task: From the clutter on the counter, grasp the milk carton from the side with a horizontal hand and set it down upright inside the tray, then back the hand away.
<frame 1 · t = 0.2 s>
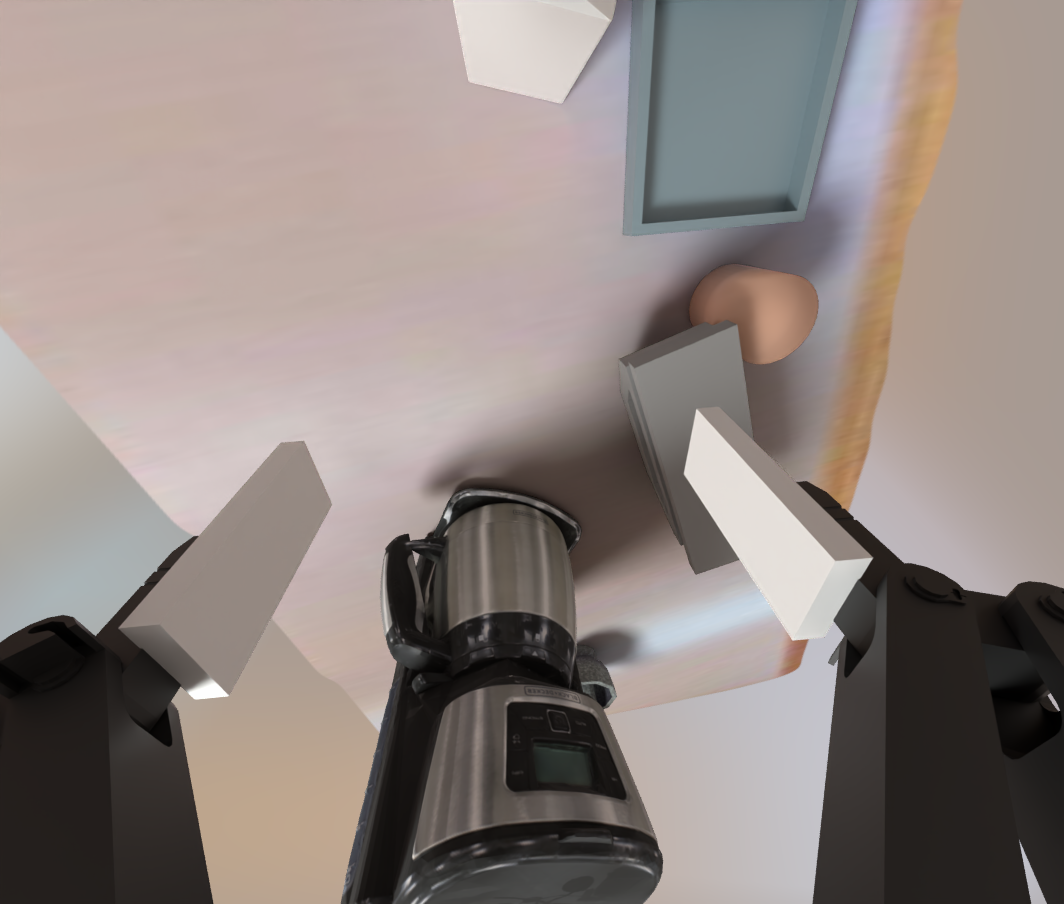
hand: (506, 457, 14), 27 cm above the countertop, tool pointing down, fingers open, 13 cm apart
mortar and pestle: (578, 657, 67), on the countertop
tray: (718, 122, 31), on the countertop
sharpening stone: (666, 419, 45), on the countertop
coffee maker: (467, 567, 54), on the countertop
peach round cylinder: (724, 303, 39), on the countertop
milk carton: (522, 29, 28), on the countertop
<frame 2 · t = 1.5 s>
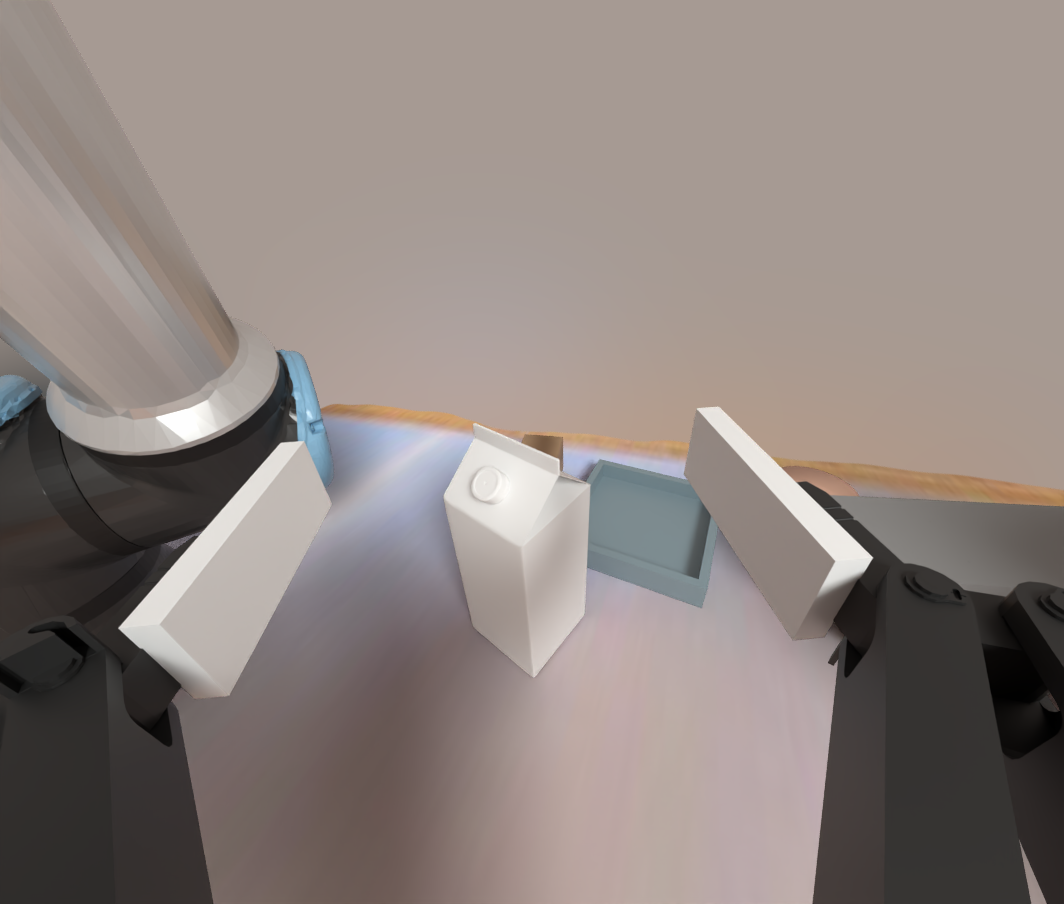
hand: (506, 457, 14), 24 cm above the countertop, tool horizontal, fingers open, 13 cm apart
walnut block: (541, 478, 52), on the countertop
tray: (640, 529, 43), on the countertop
sharpening stone: (957, 638, 32), on the countertop
peach round cylinder: (785, 550, 40), on the countertop
milk carton: (529, 622, 35), on the countertop
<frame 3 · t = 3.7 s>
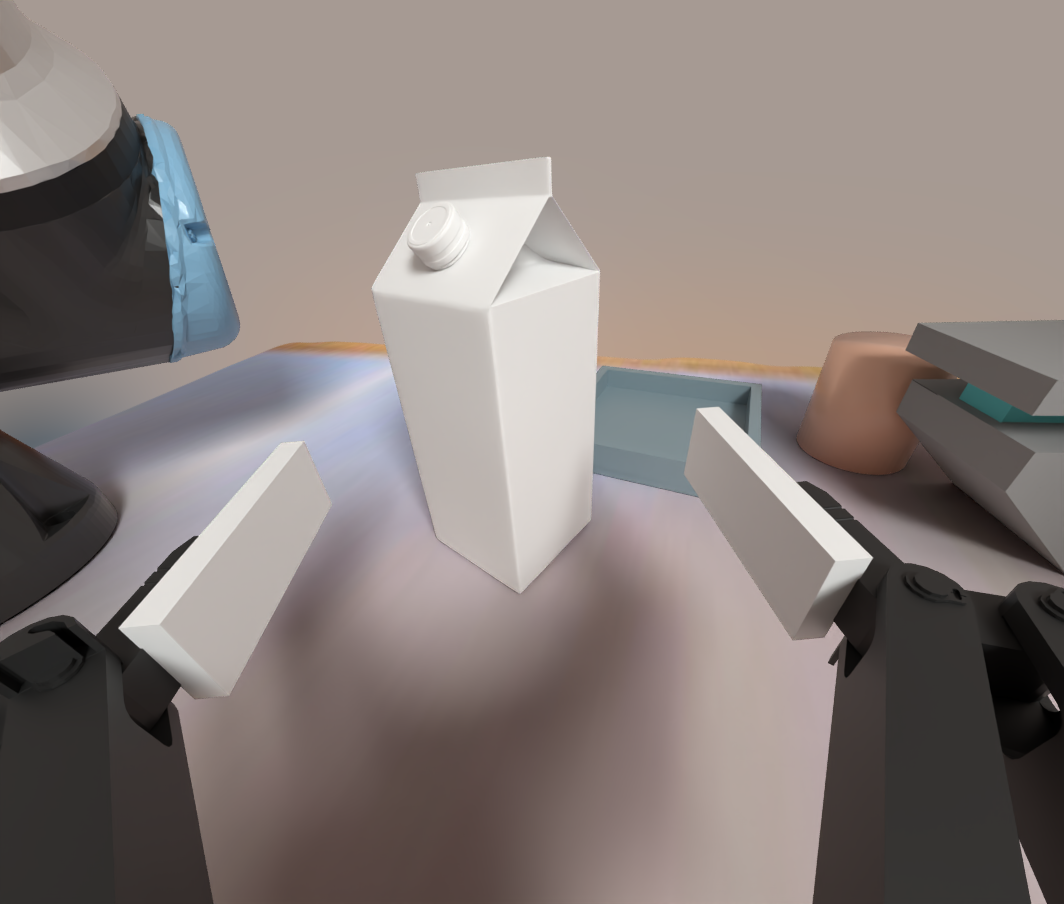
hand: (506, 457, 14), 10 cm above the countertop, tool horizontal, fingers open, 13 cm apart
tray: (657, 434, 34), on the countertop
peach round cylinder: (848, 447, 31), on the countertop
milk carton: (515, 533, 25), on the countertop
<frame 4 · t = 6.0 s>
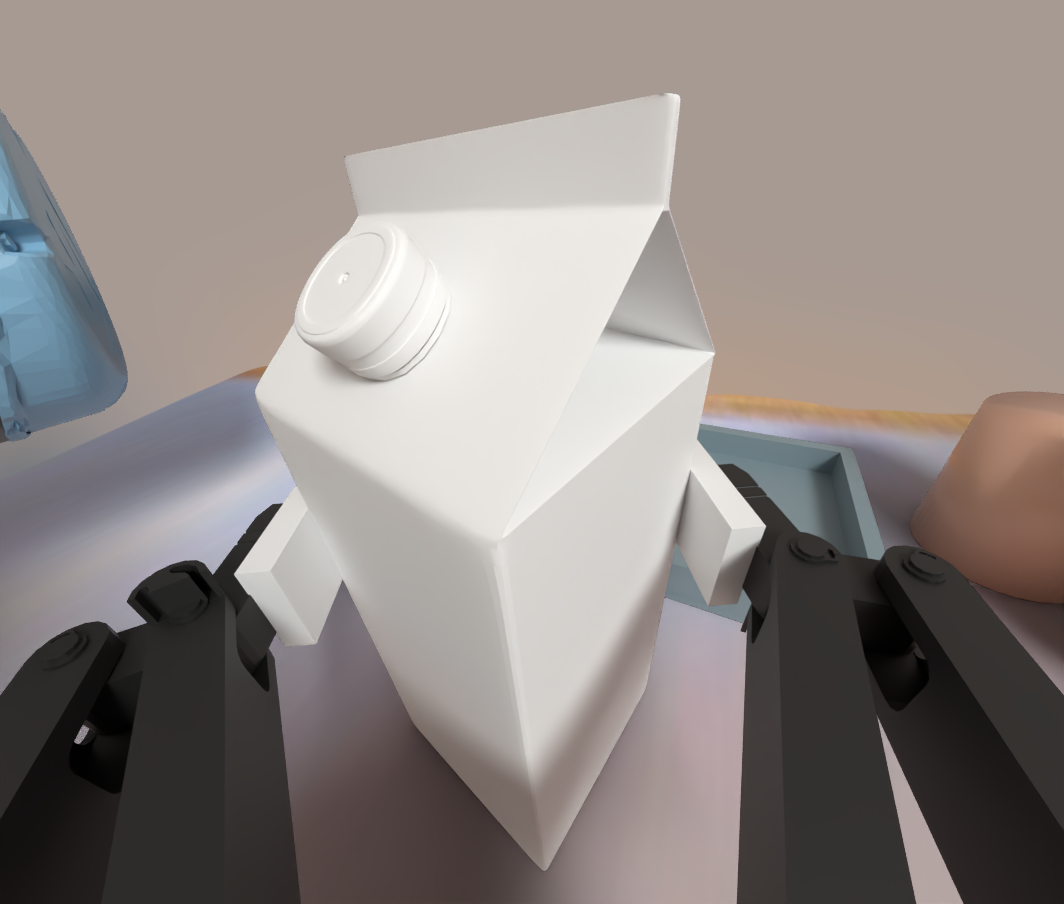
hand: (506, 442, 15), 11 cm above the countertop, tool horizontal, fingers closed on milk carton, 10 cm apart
tray: (717, 517, 25), on the countertop
peach round cylinder: (991, 549, 22), on the countertop
milk carton: (530, 708, 17), on the countertop, touching gripper
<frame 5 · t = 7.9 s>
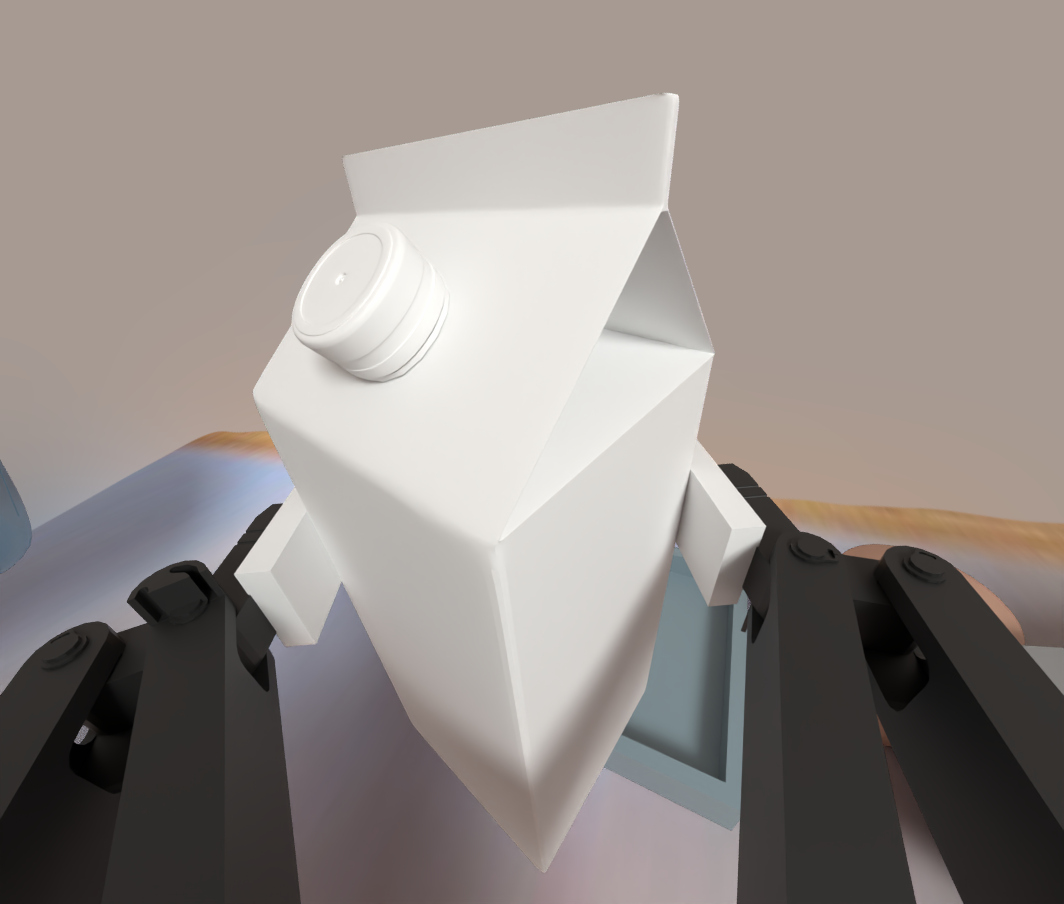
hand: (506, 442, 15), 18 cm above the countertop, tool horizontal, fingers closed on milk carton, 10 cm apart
tray: (618, 639, 27), on the countertop
peach round cylinder: (858, 679, 24), on the countertop
milk carton: (530, 709, 17), point 7 cm above the countertop, touching gripper
when the fingers open (12 cm above the countertop, at t = 10.2 s): milk carton stays where it is, resting on tray.
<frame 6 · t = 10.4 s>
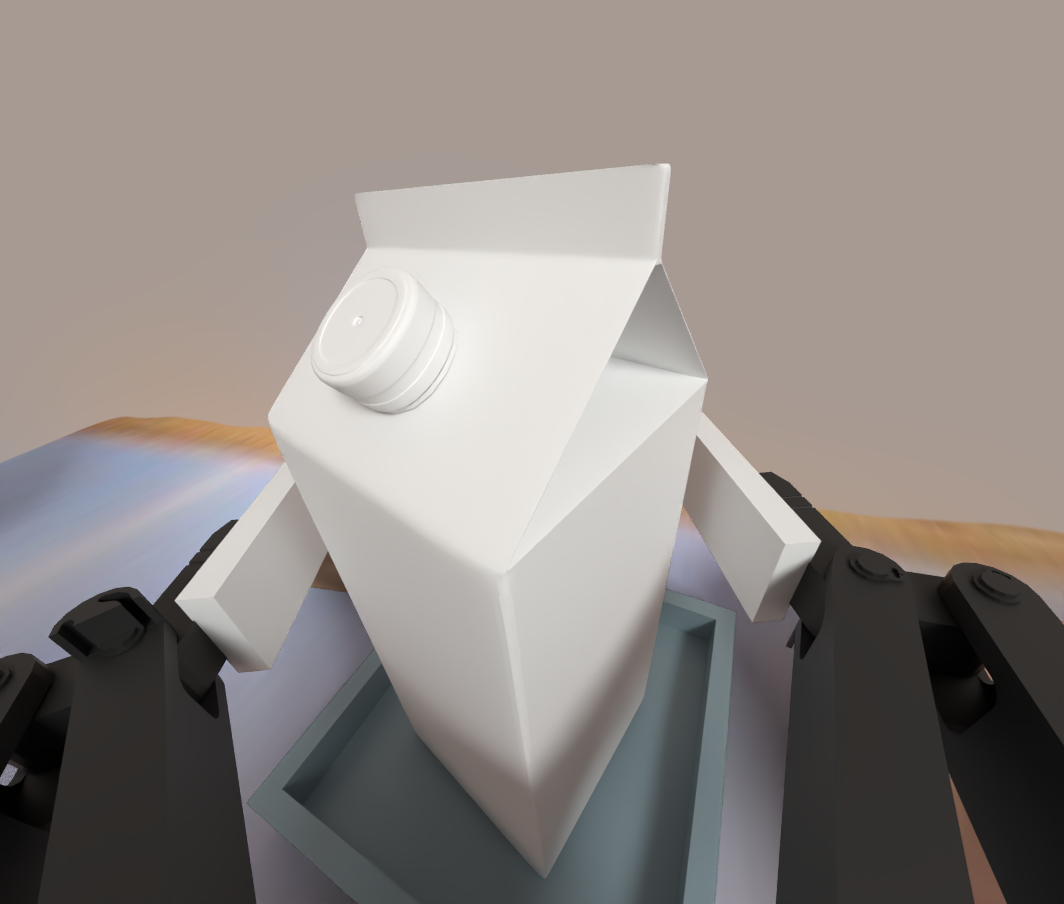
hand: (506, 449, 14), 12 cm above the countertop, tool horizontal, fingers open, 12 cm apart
walnut block: (369, 561, 26), on the countertop
tray: (532, 721, 18), on the countertop
peach round cylinder: (915, 815, 14), on the countertop
milk carton: (530, 717, 17), point 1 cm above the countertop, touching tray
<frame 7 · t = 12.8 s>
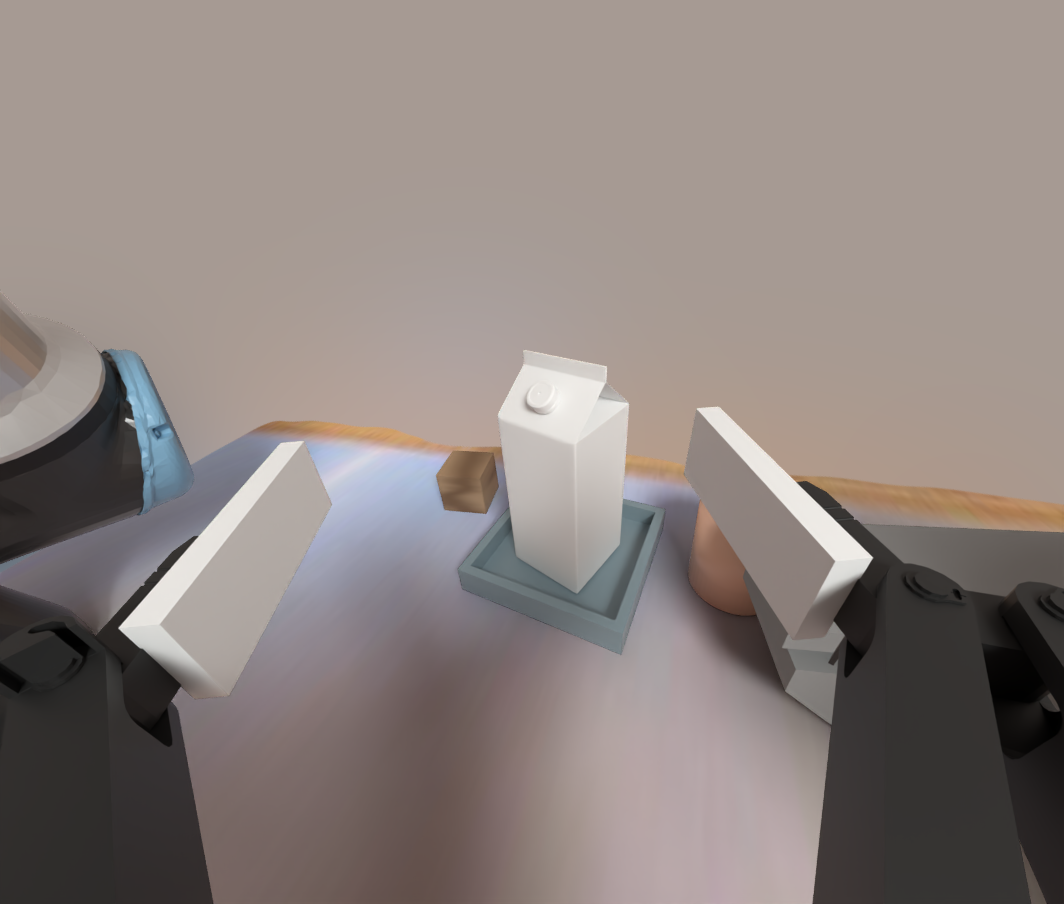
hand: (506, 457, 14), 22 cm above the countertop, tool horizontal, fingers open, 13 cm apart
walnut block: (472, 498, 47), on the countertop
tray: (568, 557, 38), on the countertop
sharpening stone: (926, 693, 26), on the countertop
peach round cylinder: (730, 580, 34), on the countertop
milk carton: (568, 553, 38), point 1 cm above the countertop, touching tray
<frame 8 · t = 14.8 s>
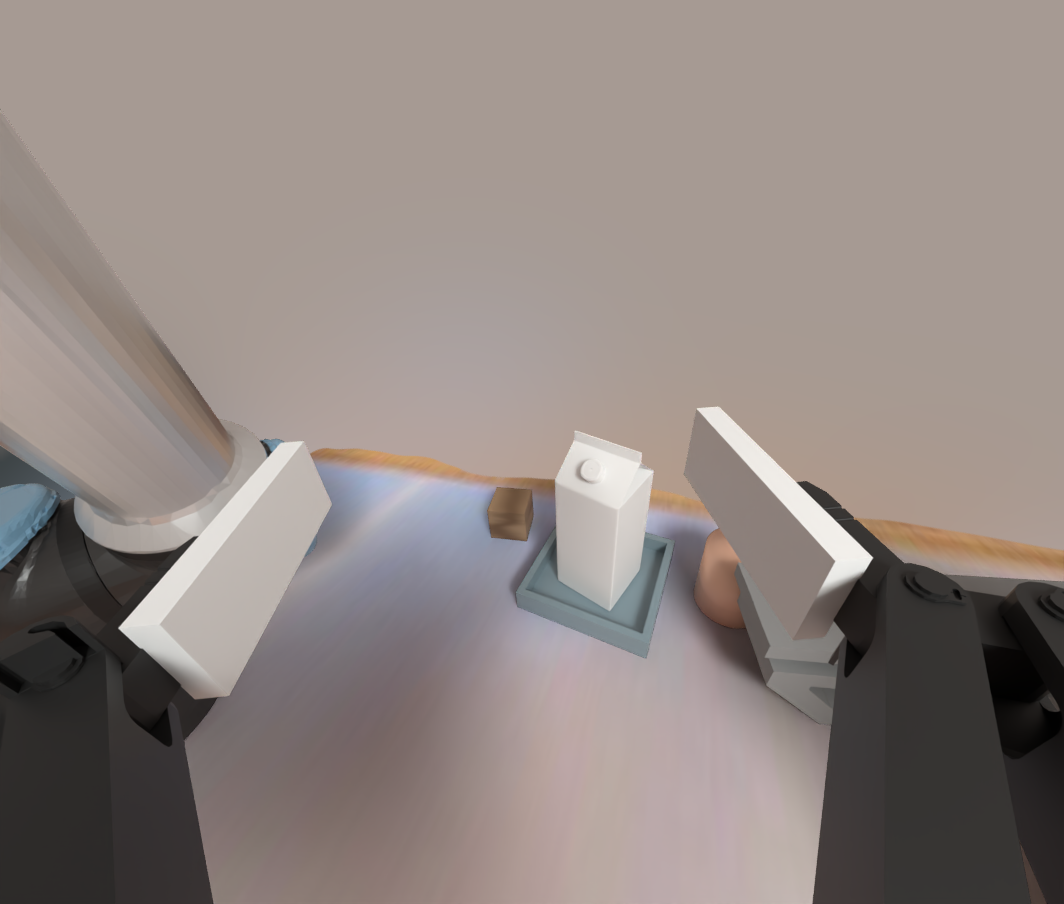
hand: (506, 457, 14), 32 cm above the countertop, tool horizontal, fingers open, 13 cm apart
walnut block: (513, 526, 56), on the countertop
tray: (598, 579, 48), on the countertop
sharpening stone: (866, 685, 37), on the countertop
peach round cylinder: (726, 599, 45), on the countertop
milk carton: (598, 577, 47), point 1 cm above the countertop, touching tray
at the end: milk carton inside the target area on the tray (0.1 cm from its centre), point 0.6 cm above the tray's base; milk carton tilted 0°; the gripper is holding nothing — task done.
